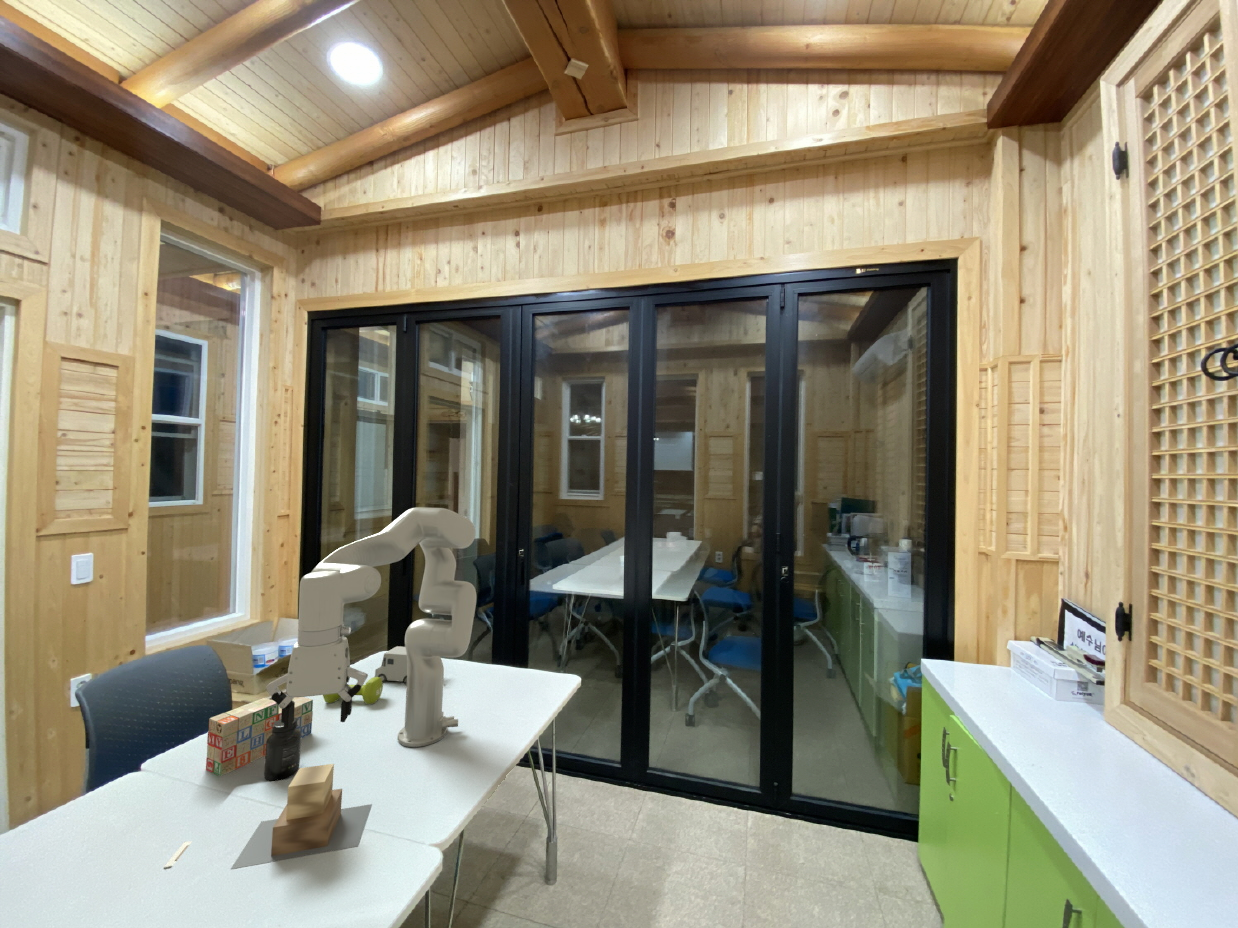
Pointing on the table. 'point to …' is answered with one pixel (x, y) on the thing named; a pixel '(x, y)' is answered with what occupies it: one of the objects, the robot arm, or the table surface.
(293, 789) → the oak brick
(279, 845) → the brick
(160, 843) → the table surface
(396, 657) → the toy vehicle
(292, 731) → the supplement bottle
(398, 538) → the robot arm
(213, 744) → the stack of blocks
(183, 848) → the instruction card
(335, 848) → the board
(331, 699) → the dumbbell
